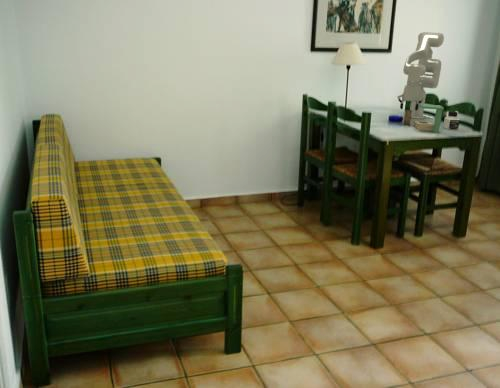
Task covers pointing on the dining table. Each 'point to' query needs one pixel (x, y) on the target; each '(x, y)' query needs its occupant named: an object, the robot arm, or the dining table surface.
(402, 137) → the dining table surface
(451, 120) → the medicine bottle
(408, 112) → the peg
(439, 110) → the pale green arch
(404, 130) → the dining table surface
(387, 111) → the dining table surface
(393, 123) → the dining table surface
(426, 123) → the tan shallow oval bowl
